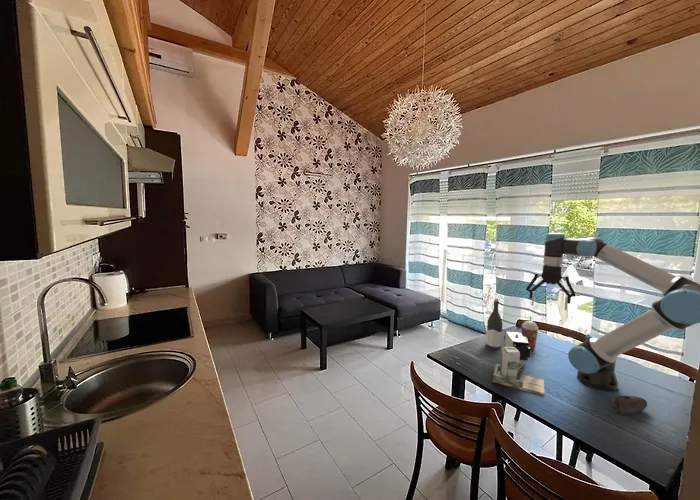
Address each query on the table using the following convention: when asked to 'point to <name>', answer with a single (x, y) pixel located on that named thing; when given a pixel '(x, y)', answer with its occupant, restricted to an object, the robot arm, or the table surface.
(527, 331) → the smoothie
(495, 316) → the wine bottle
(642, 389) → the table surface
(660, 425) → the table surface
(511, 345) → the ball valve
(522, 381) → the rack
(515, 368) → the syrup box
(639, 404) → the perforated stone tool
